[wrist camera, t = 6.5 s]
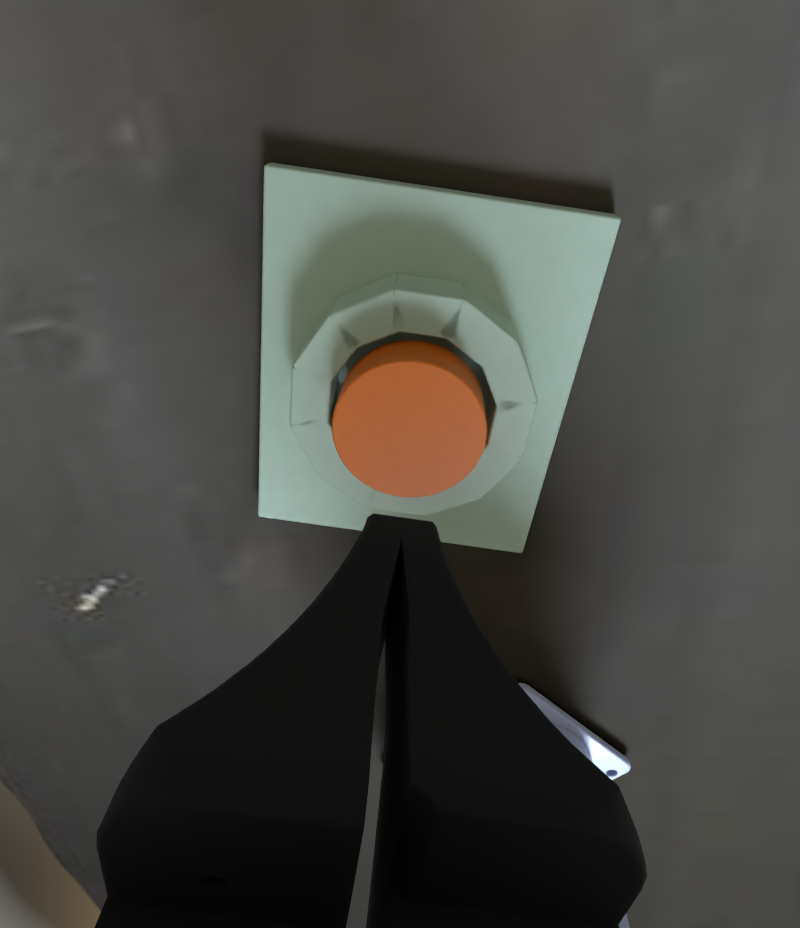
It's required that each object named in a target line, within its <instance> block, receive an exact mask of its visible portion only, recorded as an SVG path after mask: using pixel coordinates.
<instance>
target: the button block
mask: <svg viewBox="0 0 800 928" xmlns="http://www.w3.org/2000/svg"><path fill="white" fill-rule="evenodd" d="M620 222H621V218H619V217H618V216H617V215H615V214H611V213H605V212H598V211H591V210H585V209H578V208H571V207H565V206H558V205H551V204H545V203H538V202H531V201H525V200H518V199H511V198H505V197H498V196H491V195H485V194H478V193H471V192H465V191H458V190H451V189H445V188H438V187H431V186H425V185H418V184H412V183H405V182H398V181H392V180H385V179H378V178H372V177H365V176H358V175H352V174H345V173H338V172H332V171H325V170H318V169H312V168H305V167H298V166H292V165H285V164H278V163H272V162H271V163H268V164H266V165H265V166H264V195H263V255H262V314H261V374H260V433H259V493H258V515H259V516H260V517H266V518H273V519H280V520H288V521H295V522H302V523H309V524H316V525H323V526H330V527H338V528H345V529H352V530H359V531H362V530H363V528H364V526H365V523H366V520H367V517H368V516H370V515H372V514H373V513H375V514H382V515H389V516H396V517H403V518H410V519H417V520H425V521H432V522H433V523H434V524H435V525H436V527H437V530H438V534H439V538H440V541H441V542H444V543H452V544H459V545H466V546H473V547H480V548H487V549H494V550H502V551H509V552H516V553H522V552H523V549H524V546H525V543H526V539H527V536H528V532H529V529H530V526H531V522H532V519H533V515H534V512H535V509H536V505H537V502H538V499H539V495H540V492H541V488H542V485H543V482H544V478H545V475H546V472H547V468H548V465H549V461H550V458H551V455H552V451H553V448H554V445H555V441H556V438H557V434H558V431H559V428H560V424H561V421H562V418H563V414H564V411H565V407H566V404H567V401H568V397H569V394H570V391H571V387H572V384H573V380H574V377H575V374H576V370H577V367H578V364H579V360H580V357H581V353H582V350H583V347H584V343H585V340H586V337H587V333H588V330H589V326H590V323H591V320H592V316H593V313H594V310H595V306H596V303H597V299H598V296H599V293H600V289H601V286H602V283H603V279H604V276H605V272H606V269H607V266H608V262H609V259H610V256H611V252H612V249H613V245H614V242H615V239H616V235H617V232H618V229H619V225H620ZM401 340H420V341H426V342H431V343H434V344H437V345H440V346H442V347H444V348H446V349H448V350H450V351H452V352H453V353H455V354H456V355H458V356H459V357H460V358H461V359H462V360H463V361H464V362H466V364H467V365H468V366H469V367H470V368H471V369H472V371H473V373H474V374H475V376H476V377H477V379H478V382H479V384H480V386H481V390H482V393H483V399H484V406H485V414H486V421H487V438H486V444H485V447H484V451H483V453H482V455H481V457H480V460H479V461H478V463H477V464H476V466H475V467H474V469H473V470H472V471H471V472H470V473H469V474H468V475H467V476H466V477H465V478H464V479H463V480H462V481H460V482H459V483H457V484H456V485H455V486H453V487H451V488H449V489H447V490H445V491H443V492H440V493H437V494H434V495H430V496H424V497H411V498H408V497H398V496H393V495H388V494H385V493H382V492H379V491H377V490H375V489H373V488H371V487H369V486H367V485H366V484H364V483H363V482H361V481H360V480H359V479H357V478H356V477H355V476H354V475H353V474H352V473H351V472H350V471H349V470H348V468H347V467H346V466H345V465H344V463H343V462H342V460H341V458H340V457H339V455H338V452H337V450H336V448H335V444H334V441H333V435H332V418H333V412H334V409H335V406H336V403H337V400H338V397H339V394H340V391H341V388H342V385H343V382H344V380H345V378H346V376H347V374H348V373H349V371H350V370H351V368H352V367H353V366H354V365H355V363H356V362H357V361H358V360H359V359H360V358H362V357H363V356H364V355H365V354H367V353H368V352H370V351H371V350H373V349H375V348H377V347H379V346H381V345H384V344H387V343H390V342H395V341H401Z"/></svg>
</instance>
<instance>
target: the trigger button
mask: <svg viewBox="0 0 800 928" xmlns="http://www.w3.org/2000/svg"><path fill="white" fill-rule="evenodd" d="M332 435H333V441H334V444H335V448H336V450H337V452H338V455H339V457H340V458H341V460H342V462H343V463H344V465H345V466H346V467H347V468H348V470H349V471H350V472H351V473H352V474H353V475H354V476H355V477H356V478H357V479H359V480H360V481H361V482H363V483H364V484H366V485H367V486H369V487H371V488H373V489H375V490H377V491H379V492H382V493H385V494H388V495H393V496H398V497H408V498H411V497H424V496H430V495H434V494H437V493H440V492H443V491H445V490H447V489H449V488H451V487H453V486H455V485H456V484H457V483H459V482H460V481H462V480H463V479H464V478H465V477H466V476H467V475H468V474H469V473H470V472H471V471H472V470H473V469H474V467H475V466H476V464H477V463H478V461H479V460H480V457H481V455H482V453H483V451H484V447H485V444H486V438H487V421H486V414H485V406H484V399H483V393H482V390H481V386H480V384H479V382H478V379H477V377H476V376H475V374H474V373H473V371H472V369H471V368H470V367H469V366H468V365H467V364H466V362H464V361H463V360H462V359H461V358H460V357H459V356H458V355H456V354H455V353H453V352H452V351H450V350H448V349H446V348H444V347H442V346H440V345H437V344H434V343H431V342H426V341H420V340H401V341H395V342H390V343H387V344H384V345H381V346H379V347H377V348H375V349H373V350H371V351H370V352H368V353H367V354H365V355H364V356H363V357H362V358H360V359H359V360H358V361H357V362H356V363H355V365H354V366H353V367H352V368H351V370H350V371H349V373H348V374H347V376H346V378H345V380H344V382H343V385H342V388H341V391H340V394H339V397H338V400H337V403H336V406H335V409H334V412H333V418H332Z"/></svg>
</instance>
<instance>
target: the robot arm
mask: <svg viewBox="0 0 800 928" xmlns="http://www.w3.org/2000/svg"><path fill="white" fill-rule="evenodd" d="M385 636H386V642H385V742H384V760H383V768H382V780H381V790H380V800H379V810H378V820H377V829H376V839H375V849H374V859H373V868H372V877H371V887H370V896H369V905H368V915H367V924H366V928H629V924H628V919H627V915H626V913H627V911H628V910H629V908H630V907H631V905H632V904H633V902H634V901H635V899H636V898H637V896H638V894H639V893H640V891H641V890H642V887H643V885H644V882H645V880H646V877H647V873H646V865H645V860H644V856H643V852H642V848H641V844H640V841H639V837H638V834H637V831H636V829H635V826H634V823H633V821H632V818H631V816H630V813H629V811H628V808H627V806H626V803H625V800H624V798H623V795H622V793H621V791H620V788H619V786H618V785H617V784H616V783H615V782H614V781H612V780H613V779H615V778H617V777H619V776H621V775H623V774H625V773H627V772H628V771H629V770H630V768H631V767H630V762H629V759H628V758H627V757H625V756H624V755H623V754H621V753H620V752H619V751H617V750H616V749H615V748H613V747H612V746H610V745H609V744H608V743H606V742H605V741H604V740H602V739H601V738H600V737H598V736H597V735H595V734H594V733H593V732H591V731H590V730H589V729H587V728H586V727H585V726H583V725H582V724H580V723H579V722H578V721H576V720H575V719H574V718H572V717H571V716H570V715H568V714H567V713H565V712H564V711H563V710H561V709H560V708H559V707H557V706H556V705H554V704H553V703H552V702H550V701H549V700H548V699H546V698H545V697H544V696H542V695H541V694H539V693H538V692H537V691H535V690H534V689H533V688H531V687H530V686H529V685H527V684H525V683H518V682H517V681H516V679H515V678H514V677H513V675H512V674H511V673H510V671H509V670H508V669H507V667H506V666H505V665H504V663H503V662H502V660H501V659H500V657H499V656H498V654H497V653H496V651H495V650H494V648H493V647H492V645H491V644H490V642H489V641H488V639H487V638H486V636H485V634H484V633H483V631H482V629H481V628H480V626H479V624H478V622H477V620H476V619H475V617H474V615H473V613H472V612H471V610H470V608H469V606H468V604H467V602H466V600H465V598H464V596H463V594H462V592H461V590H460V588H459V586H458V583H457V581H456V579H455V577H454V575H453V572H452V570H451V568H450V565H449V563H448V560H447V558H446V555H445V553H444V550H443V547H442V544H441V541H440V538H439V534H438V530H437V527H436V525H435V524H434V523H433V522H432V521H425V520H417V519H410V518H403V517H396V516H389V515H382V514H375V513H373V514H372V515H370V516H368V517H367V520H366V523H365V526H364V528H363V530H362V532H361V534H360V536H359V538H358V540H357V541H356V543H355V545H354V547H353V548H352V550H351V552H350V553H349V555H348V556H347V558H346V559H345V560H344V562H343V563H342V565H341V566H340V568H339V569H338V571H337V572H336V574H335V575H334V576H333V578H332V579H331V580H330V581H329V583H328V584H327V585H326V586H325V588H324V589H323V590H322V591H321V593H320V594H319V595H318V596H317V598H316V599H315V600H314V601H313V602H312V604H311V605H310V606H309V607H308V608H307V609H306V610H305V611H304V613H303V614H302V615H301V616H300V617H299V618H298V619H297V620H296V621H295V622H294V623H293V624H292V625H291V626H290V627H289V628H288V629H287V630H286V631H285V632H284V633H283V634H282V635H281V636H280V637H279V638H278V639H276V640H275V641H274V642H273V643H272V644H271V645H270V646H269V647H268V648H267V649H266V650H264V651H263V652H262V653H261V654H260V655H259V656H257V657H256V658H255V659H254V660H253V661H251V662H250V663H249V664H248V665H247V666H245V667H244V668H243V669H241V670H240V671H239V672H237V673H236V674H235V675H233V676H232V677H231V678H229V679H228V680H227V681H225V682H224V683H223V684H221V685H220V686H219V687H217V688H216V689H215V690H213V691H212V692H210V693H209V694H207V695H206V696H204V697H203V698H201V699H200V700H198V701H197V702H195V703H193V704H192V705H190V706H189V707H187V708H186V709H184V710H182V711H181V712H179V713H178V714H176V715H174V716H173V717H171V718H170V719H168V720H166V721H165V722H163V723H161V724H160V725H158V726H157V727H156V729H155V730H154V731H153V733H152V734H151V735H150V737H149V738H148V740H147V741H146V742H145V744H144V745H143V747H142V748H141V749H140V751H139V753H138V754H137V756H136V757H135V759H134V760H133V762H132V763H131V765H130V767H129V768H128V770H127V772H126V773H125V775H124V777H123V778H122V780H121V782H120V784H119V786H118V788H117V790H116V792H115V794H114V796H113V798H112V800H111V803H110V805H109V807H108V809H107V811H106V813H105V816H104V818H103V820H102V822H101V824H100V827H99V829H98V831H97V851H98V855H99V860H100V864H101V869H102V873H103V878H104V882H105V887H106V891H107V896H108V897H107V899H106V902H105V904H104V907H103V909H102V911H101V914H100V916H99V919H98V921H97V924H96V926H95V928H346V924H347V918H348V913H349V907H350V902H351V896H352V891H353V885H354V880H355V874H356V869H357V863H358V858H359V852H360V847H361V841H362V836H363V830H364V823H365V814H366V804H367V795H368V785H369V771H370V757H371V744H372V731H373V718H374V706H375V695H376V683H377V673H378V669H379V664H380V660H381V655H382V650H383V646H384V641H385Z"/></svg>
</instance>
